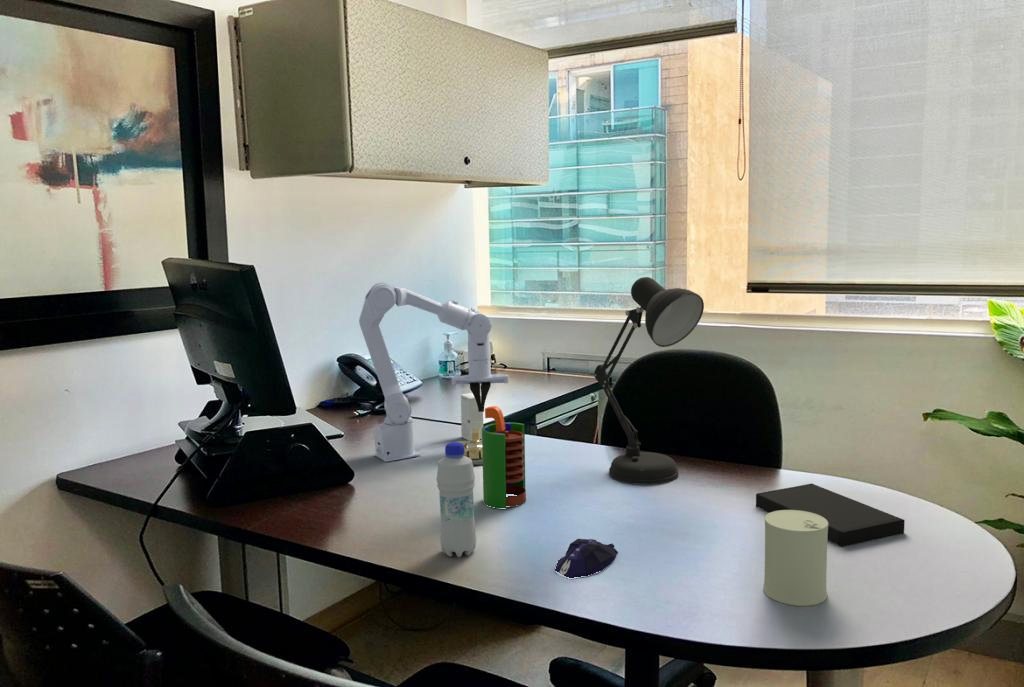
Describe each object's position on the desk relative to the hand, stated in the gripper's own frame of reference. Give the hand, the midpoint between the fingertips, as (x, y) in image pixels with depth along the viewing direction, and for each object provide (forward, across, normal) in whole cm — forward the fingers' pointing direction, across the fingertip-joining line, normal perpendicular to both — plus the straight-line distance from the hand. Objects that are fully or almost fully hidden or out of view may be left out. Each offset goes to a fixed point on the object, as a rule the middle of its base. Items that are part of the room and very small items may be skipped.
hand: (481, 411), depth 208 cm
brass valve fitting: (+8, +2, +9) cm, 12 cm away
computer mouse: (+10, -20, +74) cm, 77 cm away
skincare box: (+10, +3, -10) cm, 15 cm away
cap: (+10, +1, +10) cm, 14 cm away
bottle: (+10, +2, +68) cm, 69 cm away
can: (+10, -51, +88) cm, 102 cm away
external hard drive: (+10, -67, +58) cm, 89 cm away
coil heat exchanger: (+10, -6, +42) cm, 44 cm away
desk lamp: (+10, -38, +27) cm, 48 cm away
